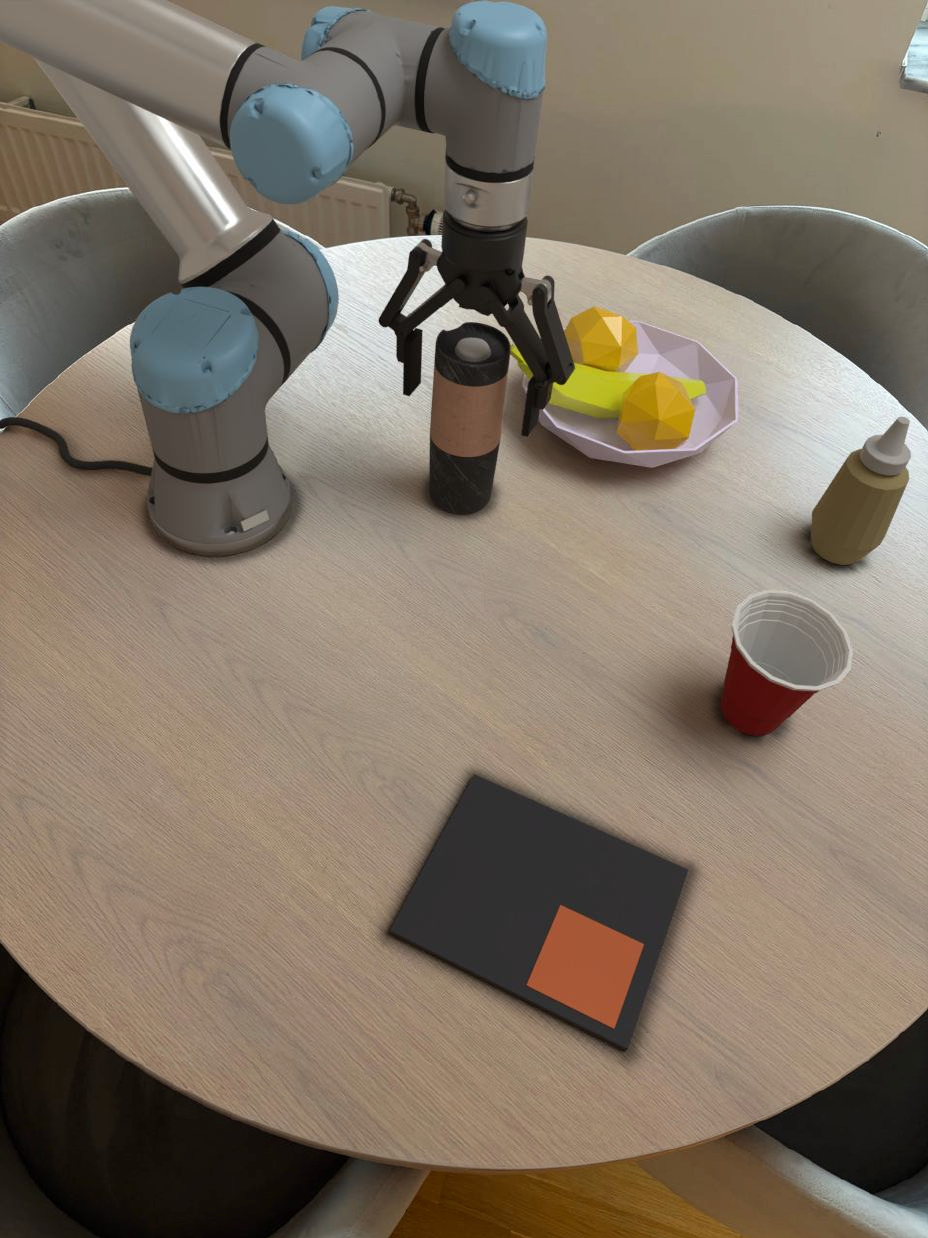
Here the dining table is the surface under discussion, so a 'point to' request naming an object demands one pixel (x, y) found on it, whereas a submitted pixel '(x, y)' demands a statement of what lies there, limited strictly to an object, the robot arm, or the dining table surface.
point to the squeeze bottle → (862, 498)
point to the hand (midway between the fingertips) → (469, 408)
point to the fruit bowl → (637, 392)
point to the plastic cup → (780, 659)
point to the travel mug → (467, 415)
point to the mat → (544, 909)
